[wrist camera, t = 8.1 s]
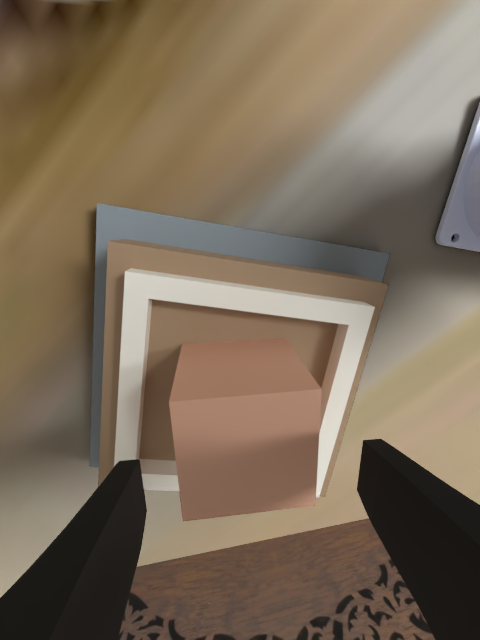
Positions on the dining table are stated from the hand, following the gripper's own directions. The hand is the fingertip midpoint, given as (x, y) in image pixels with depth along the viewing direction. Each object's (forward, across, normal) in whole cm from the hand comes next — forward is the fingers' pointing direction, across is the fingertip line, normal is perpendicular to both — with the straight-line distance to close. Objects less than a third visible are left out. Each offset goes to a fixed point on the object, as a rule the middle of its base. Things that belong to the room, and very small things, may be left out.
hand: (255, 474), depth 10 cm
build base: (+10, 0, 0) cm, 10 cm away
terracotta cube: (+6, 0, 0) cm, 6 cm away
